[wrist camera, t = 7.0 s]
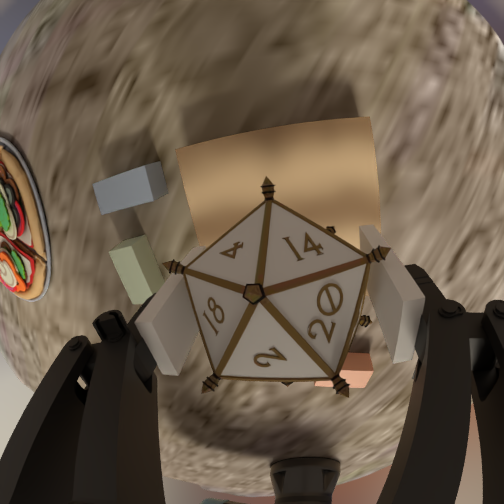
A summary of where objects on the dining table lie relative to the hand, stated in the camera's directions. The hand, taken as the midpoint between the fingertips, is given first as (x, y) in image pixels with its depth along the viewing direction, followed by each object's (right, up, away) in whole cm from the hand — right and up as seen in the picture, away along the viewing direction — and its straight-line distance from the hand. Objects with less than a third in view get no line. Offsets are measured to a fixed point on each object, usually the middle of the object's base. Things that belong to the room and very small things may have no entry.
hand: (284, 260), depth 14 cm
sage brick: (-13, -1, +13) cm, 18 cm away
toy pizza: (-41, +5, +15) cm, 44 cm away
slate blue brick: (-12, +7, +9) cm, 17 cm away
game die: (0, 0, +1) cm, 1 cm away
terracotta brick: (+9, -12, +15) cm, 21 cm away
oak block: (+1, +4, +8) cm, 9 cm away
